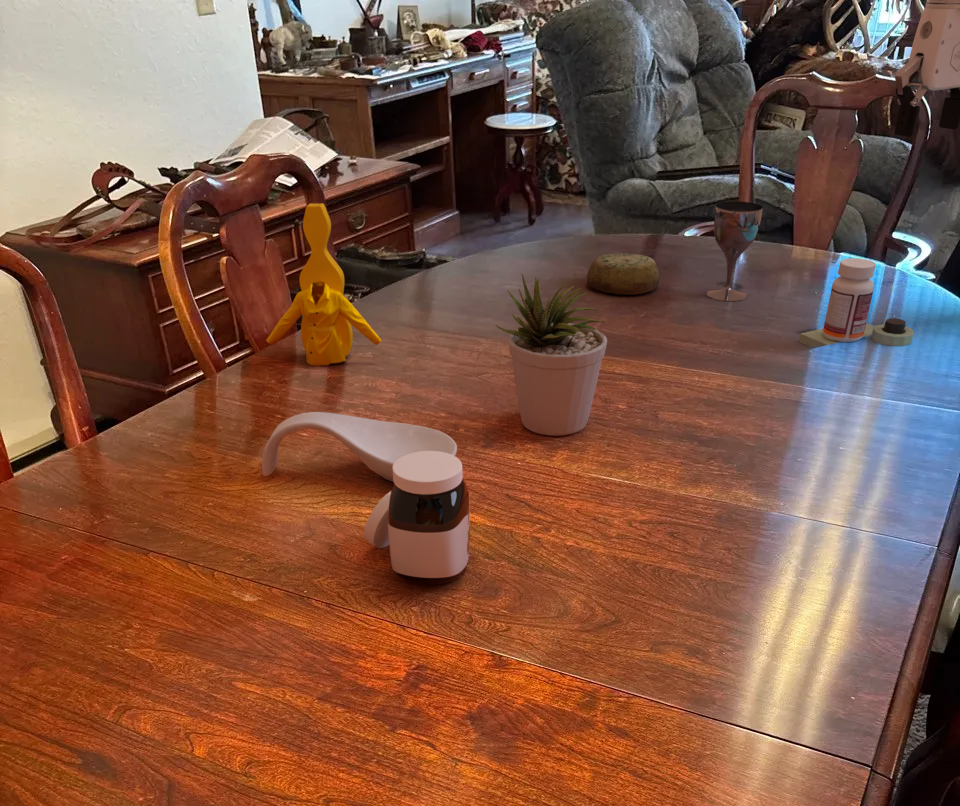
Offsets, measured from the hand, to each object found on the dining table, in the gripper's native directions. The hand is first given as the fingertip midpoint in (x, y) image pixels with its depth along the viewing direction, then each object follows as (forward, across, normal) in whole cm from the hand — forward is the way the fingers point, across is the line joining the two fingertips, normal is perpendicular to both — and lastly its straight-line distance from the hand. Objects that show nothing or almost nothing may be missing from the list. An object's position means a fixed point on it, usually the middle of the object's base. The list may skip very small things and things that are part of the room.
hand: (926, 131), depth 143 cm
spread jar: (+27, -102, -28) cm, 109 cm away
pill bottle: (+27, -14, -4) cm, 31 cm away
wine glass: (+28, -12, +26) cm, 40 cm away
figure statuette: (+27, -87, +33) cm, 97 cm away
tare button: (+26, -9, -9) cm, 29 cm away
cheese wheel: (+28, -25, +40) cm, 55 cm away
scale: (+28, -13, -5) cm, 32 cm away
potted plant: (+27, -71, -5) cm, 76 cm away
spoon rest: (+27, -99, -6) cm, 102 cm away
